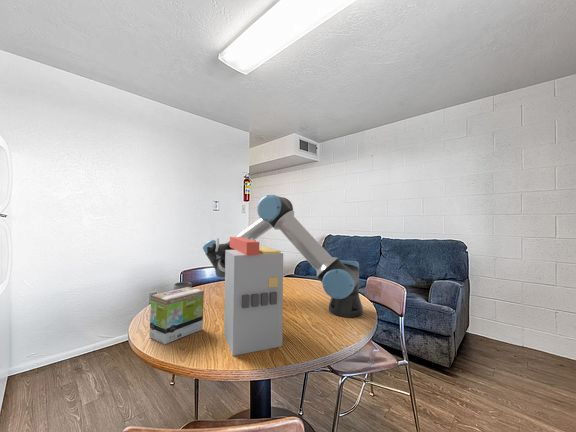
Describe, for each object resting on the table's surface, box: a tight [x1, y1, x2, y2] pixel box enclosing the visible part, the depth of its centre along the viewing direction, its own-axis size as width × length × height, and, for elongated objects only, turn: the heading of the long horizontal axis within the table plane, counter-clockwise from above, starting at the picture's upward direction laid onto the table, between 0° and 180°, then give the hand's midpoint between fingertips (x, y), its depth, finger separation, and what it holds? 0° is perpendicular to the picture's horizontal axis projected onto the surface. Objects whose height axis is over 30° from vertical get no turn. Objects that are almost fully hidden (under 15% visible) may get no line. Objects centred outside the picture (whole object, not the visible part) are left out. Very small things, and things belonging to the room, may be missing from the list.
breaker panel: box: [223, 250, 284, 357], centre depth 87 cm, size 17×16×30 cm
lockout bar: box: [229, 236, 260, 256], centre depth 92 cm, size 28×4×4 cm, turn 23°
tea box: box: [148, 287, 205, 345], centre depth 92 cm, size 15×10×15 cm, turn 148°
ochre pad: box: [259, 246, 282, 254], centre depth 90 cm, size 16×6×1 cm, turn 23°
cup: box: [172, 281, 193, 290], centre depth 123 cm, size 10×9×10 cm
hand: (235, 241), depth 101 cm, fingers open, 13 cm apart
